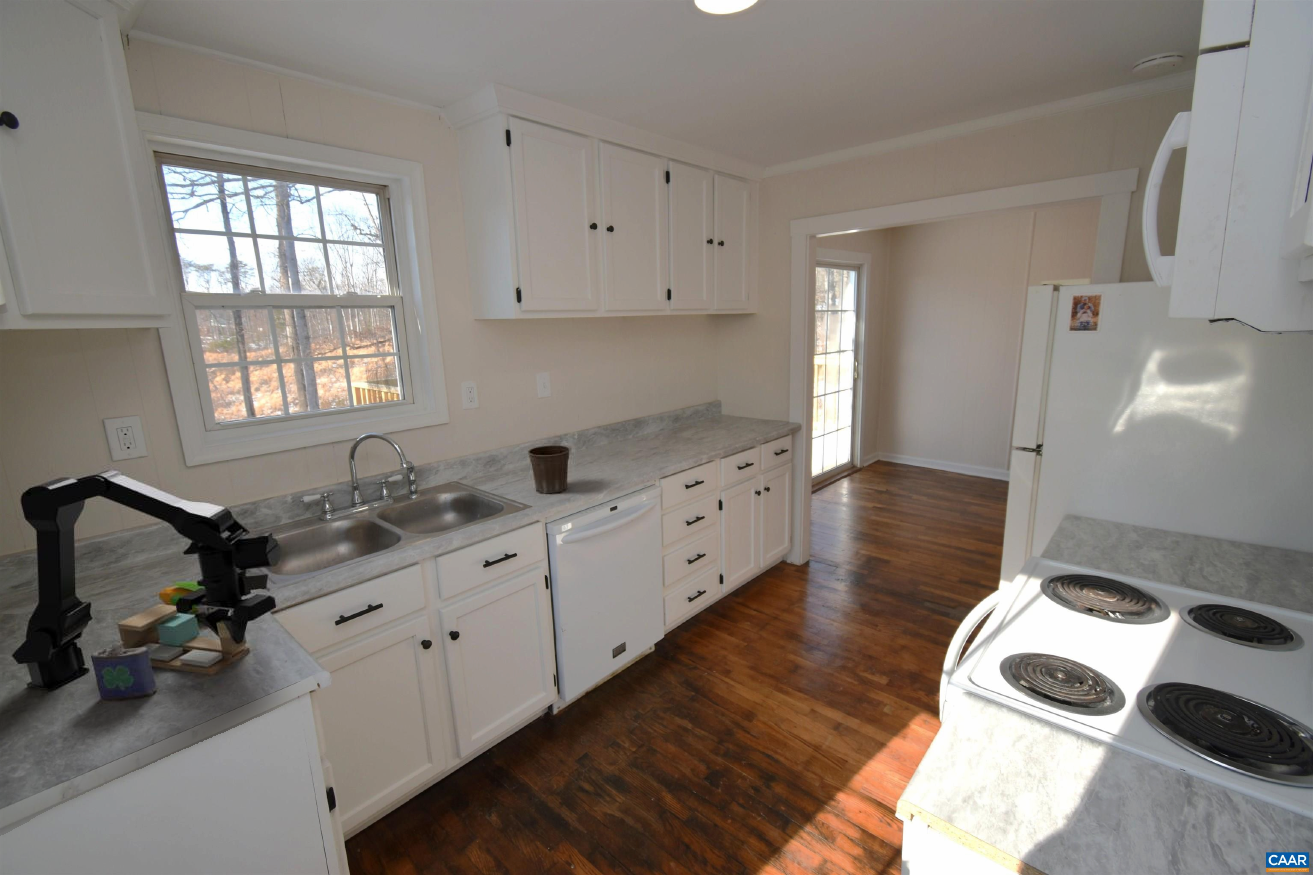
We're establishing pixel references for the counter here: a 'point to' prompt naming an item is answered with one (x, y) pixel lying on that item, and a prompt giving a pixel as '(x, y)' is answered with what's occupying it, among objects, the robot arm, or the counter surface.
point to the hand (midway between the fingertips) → (233, 642)
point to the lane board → (145, 631)
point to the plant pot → (550, 468)
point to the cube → (178, 629)
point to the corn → (179, 594)
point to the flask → (123, 673)
